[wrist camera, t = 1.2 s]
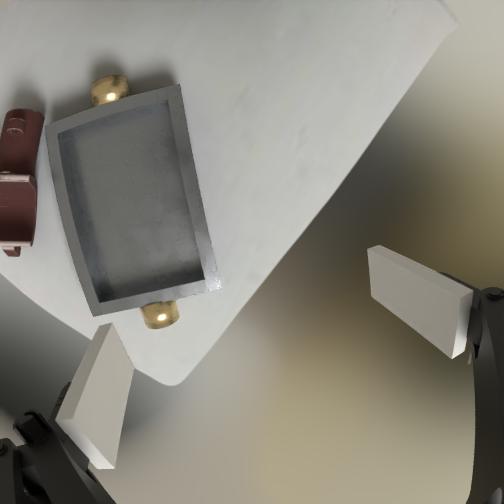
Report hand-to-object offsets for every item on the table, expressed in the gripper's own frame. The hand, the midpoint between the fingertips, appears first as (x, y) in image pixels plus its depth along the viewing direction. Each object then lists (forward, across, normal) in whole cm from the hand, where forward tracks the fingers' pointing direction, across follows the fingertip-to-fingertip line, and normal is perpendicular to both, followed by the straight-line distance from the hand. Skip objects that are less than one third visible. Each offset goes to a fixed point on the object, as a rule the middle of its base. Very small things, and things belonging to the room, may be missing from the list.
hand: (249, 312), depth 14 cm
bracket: (+24, -22, +12) cm, 35 cm away
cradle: (+23, -9, +6) cm, 25 cm away
